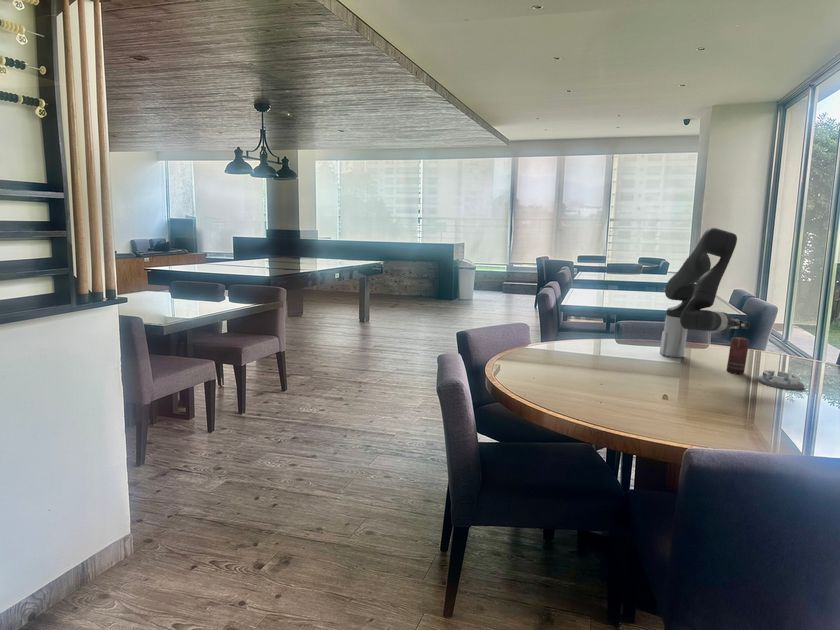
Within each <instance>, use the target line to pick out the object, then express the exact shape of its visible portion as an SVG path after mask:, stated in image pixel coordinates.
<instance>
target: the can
mask: <svg viewBox="0 0 840 630" xmlns="http://www.w3.org/2000/svg"><path fill="white" fill-rule="evenodd" d="M730 339H731V340H730V346H729V352H728V358H727V365H726V371H728V372H727V373H729V372H731V373H730V374H733V373H737V374H736V375H743V374H744V373H745V370H746V364H747V356H748V350H749V344H750V340H749V338H747V337H744V336H743V337H742V336H732V338H730Z"/></svg>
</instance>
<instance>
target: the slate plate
mask: <svg viewBox="0 0 840 630" xmlns="http://www.w3.org/2000/svg"><path fill="white" fill-rule="evenodd" d="M762 375H763V374H762ZM762 375H757V376H756V381H757V382H758V381H759V382H758V383H760V382H761V383H760V384H762V383H763V385H765V384H766V385H765V386H768V385H769V387H772V386H773V388H776V387H778V388H777V389H782V390H793V391H800V390H804V388H805V384H804V383H802V382H801V381H799V384H798V385H795V386H789V385H787V381H788V380H784V384H783V385H781V384H776V383H771V382H772V378H770V381H765V380H764V379H763V378H762Z"/></svg>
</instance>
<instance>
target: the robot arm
mask: <svg viewBox="0 0 840 630" xmlns="http://www.w3.org/2000/svg"><path fill="white" fill-rule="evenodd" d="M737 243H738V237H737V234H736V233H733V232H730V231H728V230H724V229H721V228H717V227H709V228H707V229H706V230H705V231H704V232H703V234H702V236H701V238H700V239H699V241H698V243H697V244H696V246H695V247H694V249H693V251H692V252H691V254H690V255H688V257H687V258H686V260H685V261H684V262H683V264H682V266H681V267H680V268H679V270H677V272H676V273H675V274H674V275H673V276H671V278H669V280H668V281H667V283H666V285H665V288H664V294H665V297H666V298H667V299H668V300H671V301H679V302H680V303H679V304H677V305H675V306H671V307H668V308H667V309H666V312H665V320H664V321H665V322H664V328H663V330H662V334H661V339H660V346H659V347H660V348H659V353H660V354H661V355H662V356H665V357H670V358H671V357H672V358H684V357H685V349H686V343H687V336H688V330H691V331H701V332H704V331H706V332H712V333H725V332H727V331H730V330H731V329H745V330H749V328H750V322H749V321H745V320H740V319H736V318H732V317H731V315H730V314H729V313H727V312H725V311H719V310H718V311H716V310H713V311H712V310H708V309H707V308H710V307H712V306H713V305H714V303H715V300H716V296H717V292H718V289H719V287H720V283H721V282H722V281H721V280H722V278H723V276H724V275H725V272H726V270H727V267H728V265H729V263H730V260H731V259H732V257H733V254H734V251H735V250H736V246H737ZM708 254H709V255H712V256H716V257H719V260H718V261H717V263H716V264H714V266H713V267H712V263H711V258H710V257H709V255H708ZM711 267H712V268H711ZM695 283H696V284H695ZM706 309H707V310H706Z"/></svg>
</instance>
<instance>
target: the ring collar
mask: <svg viewBox="0 0 840 630" xmlns="http://www.w3.org/2000/svg"><path fill="white" fill-rule="evenodd" d="M790 374H791V373H790V372H786V371H780V370H778V371H777V375H775V370H773V369H772V370H764V371H763V372H762V378H763V379H764V380H765V381H770V378H772V382H771V383H776V384H781V385H783V384H784V380H788V381H787V385H789V386H795V385H798V384H799V382H800V380H801V377H800V376H798V375H796V374H791V377H790Z"/></svg>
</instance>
